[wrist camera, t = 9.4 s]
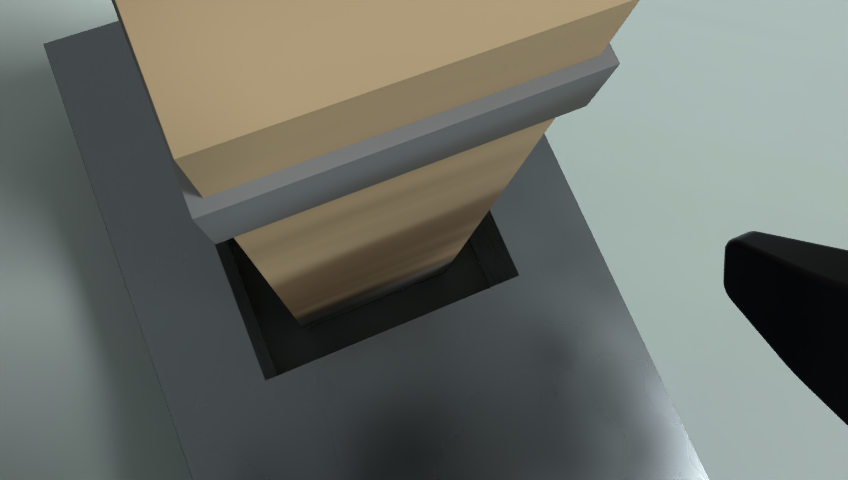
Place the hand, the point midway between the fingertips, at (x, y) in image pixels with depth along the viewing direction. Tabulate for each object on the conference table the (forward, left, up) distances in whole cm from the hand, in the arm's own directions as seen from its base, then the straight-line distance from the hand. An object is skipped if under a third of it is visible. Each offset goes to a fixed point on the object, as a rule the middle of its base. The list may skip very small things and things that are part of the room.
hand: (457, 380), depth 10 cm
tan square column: (+2, +4, -8) cm, 9 cm away
